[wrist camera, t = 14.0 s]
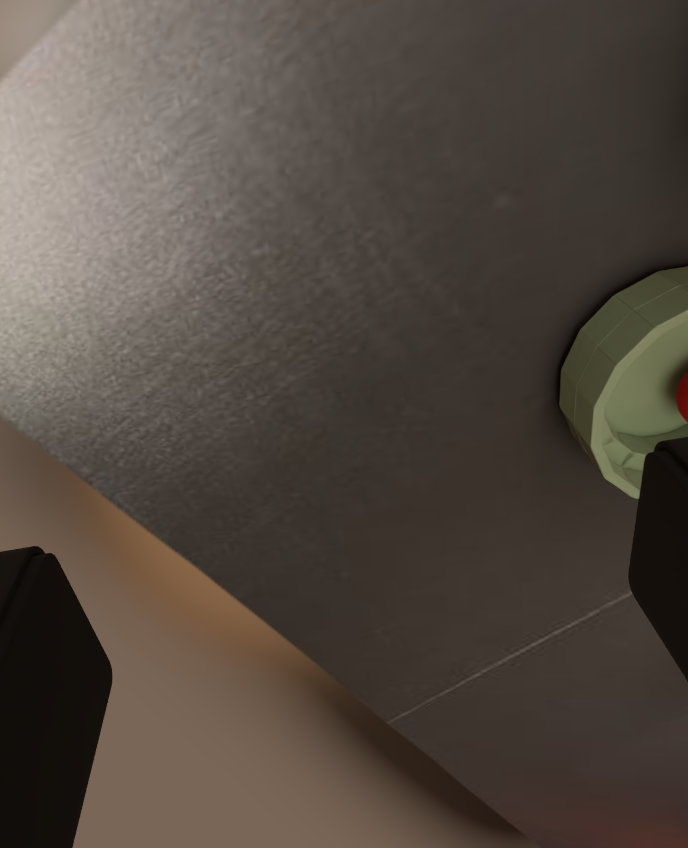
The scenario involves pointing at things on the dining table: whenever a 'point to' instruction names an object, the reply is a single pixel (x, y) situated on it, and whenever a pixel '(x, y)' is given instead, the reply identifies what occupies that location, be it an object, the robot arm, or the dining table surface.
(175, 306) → the dining table surface
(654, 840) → the dining table surface
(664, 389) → the bowl
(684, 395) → the cherry tomato
